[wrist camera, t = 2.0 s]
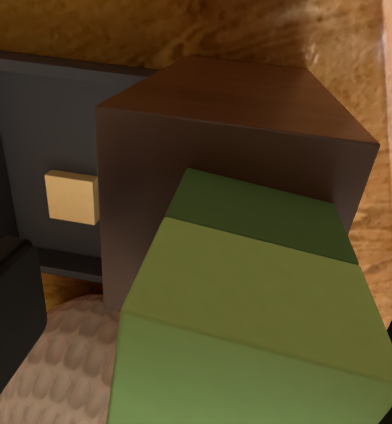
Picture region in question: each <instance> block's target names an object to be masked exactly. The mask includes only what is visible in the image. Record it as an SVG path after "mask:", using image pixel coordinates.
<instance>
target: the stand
mask: <svg viewBox="0 0 392 424" xmlns="http://www.w3.org/2000/svg"><path fill="white" fill-rule="evenodd" d="M94 109H95V131H96V152H97V173H98V195H99V216H100V237H101V258H102V280H103V301H104V310H108V311H114V312H119V313H120V312H121V308H122V306H123V304H124V301H125V299H126V297H127V295H128V293H129V291H130V289H131V286H132V284H133V282H134V280H135V278H136V276H137V274H138V272H139V269H140V267H141V265H142V263H143V261H144V259H145V257H146V254H147V252H148V250H149V248H150V246H151V244H152V242H153V240H154V237H155V235H156V233H157V231H158V229H159V227H160V225H161V222H162V220H163V219H164V216H165V214H166V212H167V210H168V207H169V205H170V203H171V201H172V199H173V197H174V195H175V192H176V190H177V188H178V186H179V184H180V182H181V180H182V178H183V175H184V173H185V171H186V169H187V168H192V169H196V170H200V171H204V172H208V173H212V174H216V175H220V176H224V177H228V178H232V179H237V180H241V181H245V182H249V183H253V184H257V185H261V186H265V187H269V188H273V189H277V190H281V191H285V192H289V193H293V194H297V195H301V196H305V197H309V198H313V199H317V200H321V201H325V202H329V203H333V204H334V205H335V206H336V209H337V211H338V214H339V216H340V219H341V221H342V223H343V226H344V228H345V231H346V233H347V236H348V233H349V230H350V228H351V225H352V222H353V219H354V217H355V214H356V211H357V208H358V206H359V203H360V200H361V197H362V194H363V192H364V189H365V186H366V183H367V181H368V178H369V175H370V172H371V170H372V167H373V164H374V161H375V159H376V156H377V153H378V150H379V148H380V144H379V143H378V141H377V140H376V139H375V138H374V137H373V136H372V135H371V134H370V133H369V132H368V131H367V130H366V129H365V128H364V127H363V126H362V125H361V124H360V123H359V122H358V121H357V120H356V119H355V118H354V117H353V116H352V115H351V114H350V113H349V111H348V110H347V109H346V108H345V107H344V106H343V105H342V104H341V103H340V102H339V101H338V100H337V99H336V98H335V97H334V96H333V95H332V94H331V93H330V92H329V91H328V90H327V89H326V88H325V87H324V86H323V85H322V84H321V83H320V81H319V80H318V79H317V78H316V77H315V76H314V75H313V74H312V73H311V72H310V71H309V70H308V69H305V68H296V67H288V66H279V65H271V64H262V63H254V62H245V61H237V60H228V59H220V58H211V57H203V56H195V55H188V56H186V57H184V58H182V59H180V60H178V61H177V62H175V63H173V64H171V65H169V66H167V67H166V68H164V69H162V70H160V71H158V72H156V73H155V74H153V75H151V76H149V77H147V78H145V79H144V80H142V81H140V82H138V83H136V84H134V85H132V86H131V87H129V88H127V89H125V90H123V91H121V92H120V93H118V94H116V95H114V96H112V97H110V98H109V99H107V100H105V101H103V102H101V103H99V104H98V105H96V106H95V107H94Z"/></svg>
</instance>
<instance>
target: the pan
mask: <svg viewBox="0 0 392 424" xmlns="http://www.w3.org/2000/svg"><path fill="white" fill-rule="evenodd" d="M158 71H160V70H154V69H145V68H137V67H129V66H121V65H113V64H105V63H97V62H88V61H80V60H72V59H64V58H56V57H48V56H40V55H31V54H23V53H15V52H7V51H0V240H1V239H2V238H4V237H5V236H13V237H19V238H24V239H29V240H30V241H31V242H32V245H33V246H36V248H37V251H38V257H39V264H40V271H41V273H47V274H52V275H58V276H64V277H69V278H75V279H80V280H86V281H92V282H97V283H103V280H102V258H101V237H100V219H99V220H98V222H97V223H96V224H95V225H91V224H84V223H78V222H72V221H66V220H60V219H54V218H50V215H49V208H48V200H47V192H46V184H45V176H44V175H45V174H46V173H48V172H49V171H50V170H59V171H65V172H72V173H78V174H85V175H92V176H98V173H97V152H96V131H95V109H94V107H95V106H96V105H98V104H99V103H101V102H103V101H105V100H107V99H109V98H110V97H112V96H114V95H116V94H118V93H120V92H121V91H123V90H125V89H127V88H129V87H131V86H132V85H134V84H136V83H138V82H140V81H142V80H144V79H145V78H147V77H149V76H151V75H153V74H155V73H156V72H158Z"/></svg>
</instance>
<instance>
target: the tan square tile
mask: <svg viewBox="0 0 392 424" xmlns="http://www.w3.org/2000/svg"><path fill="white" fill-rule="evenodd" d="M44 176H45V184H46V192H47V200H48V208H49V215H50V218H54V219H60V220H66V221H72V222H78V223H84V224H91V225H95V224H96V223H97V222H98V220H99V219H100V216H99V195H98V176H92V175H85V174H78V173H72V172H65V171H59V170H50V171H49V172H48V173H46V174H45V175H44Z"/></svg>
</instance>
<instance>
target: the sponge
mask: <svg viewBox="0 0 392 424" xmlns="http://www.w3.org/2000/svg"><path fill="white" fill-rule="evenodd" d="M391 407H392V343H391V340H390V338H389V335H388V333H387V330H386V328H385V326H384V323H383V321H382V318H381V316H380V313H379V311H378V309H377V306H376V304H375V301H374V299H373V296H372V294H371V292H370V289H369V287H368V284H367V282H366V279H365V277H364V275H363V272H362V270H361V268H360V267H359V266H358V260H357V257H356V255H355V253H354V250H353V248H352V245H351V243H350V240H349V238H348V236H347V233H346V231H345V228H344V226H343V223H342V221H341V219H340V216H339V214H338V211H337V209H336V206H335V205H334V204H333V203H329V202H325V201H321V200H317V199H313V198H309V197H305V196H301V195H297V194H293V193H289V192H285V191H281V190H277V189H273V188H269V187H265V186H261V185H257V184H253V183H249V182H245V181H241V180H237V179H232V178H228V177H224V176H220V175H216V174H212V173H208V172H204V171H200V170H196V169H192V168H187V169H186V171H185V173H184V175H183V178H182V180H181V182H180V184H179V186H178V188H177V190H176V192H175V195H174V197H173V199H172V201H171V203H170V205H169V207H168V210H167V212H166V214H165V216H164V219H163V220H162V222H161V225H160V227H159V229H158V231H157V233H156V235H155V237H154V240H153V242H152V244H151V246H150V248H149V250H148V252H147V254H146V257H145V259H144V261H143V263H142V265H141V267H140V269H139V272H138V274H137V276H136V278H135V280H134V282H133V284H132V286H131V289H130V291H129V293H128V295H127V297H126V299H125V301H124V304H123V306H122V308H121V312H120V319H119V327H118V335H117V343H116V351H115V359H114V367H113V375H112V382H111V390H110V398H109V406H108V414H107V422H106V424H378V423H379V422H380V421H381V420H382V418H383V417H384V416H385V415H386V413H387V412H388V411H389V410H390V409H391Z"/></svg>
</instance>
